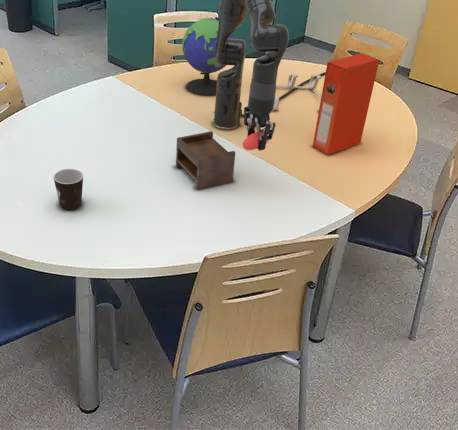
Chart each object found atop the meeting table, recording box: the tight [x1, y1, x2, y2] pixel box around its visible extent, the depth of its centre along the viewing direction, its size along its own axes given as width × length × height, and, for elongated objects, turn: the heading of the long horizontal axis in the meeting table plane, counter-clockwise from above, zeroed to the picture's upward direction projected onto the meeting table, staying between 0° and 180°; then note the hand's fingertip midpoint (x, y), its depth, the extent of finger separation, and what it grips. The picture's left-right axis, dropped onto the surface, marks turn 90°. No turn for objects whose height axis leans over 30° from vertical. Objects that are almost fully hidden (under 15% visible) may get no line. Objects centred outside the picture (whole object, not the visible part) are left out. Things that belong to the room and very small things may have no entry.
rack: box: [175, 130, 236, 191], centre depth 192 cm, size 13×16×11 cm
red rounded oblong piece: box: [242, 131, 269, 151], centre depth 179 cm, size 5×9×6 cm, turn 120°
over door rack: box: [272, 72, 322, 111], centre depth 247 cm, size 22×29×10 cm
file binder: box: [312, 53, 380, 155], centre depth 207 cm, size 8×17×32 cm, turn 125°
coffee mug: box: [53, 168, 84, 212], centre depth 173 cm, size 12×9×10 cm
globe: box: [181, 16, 235, 97], centre depth 247 cm, size 22×22×30 cm
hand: (255, 145), depth 180 cm, fingers closed on red rounded oblong piece, 5 cm apart
